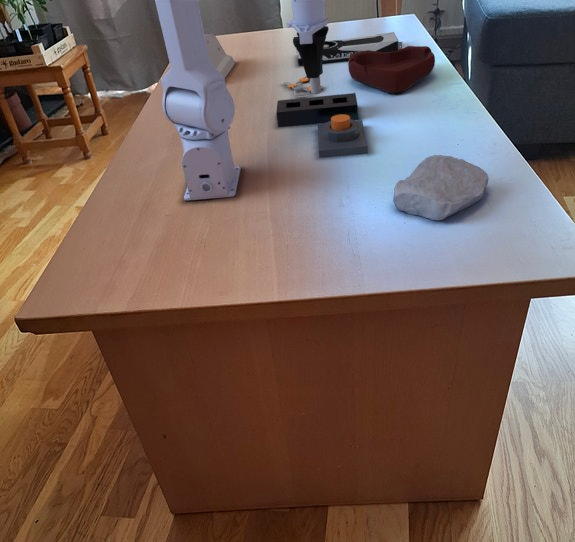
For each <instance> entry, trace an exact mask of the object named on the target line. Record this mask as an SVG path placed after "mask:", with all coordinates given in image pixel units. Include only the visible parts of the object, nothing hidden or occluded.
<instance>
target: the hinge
mask: <svg viewBox="0 0 575 542" xmlns="http://www.w3.org/2000/svg"><path fill="white" fill-rule="evenodd" d="M205 39H206V45H207V50H208V55H209V60H210V62H211V64H212V65H213V66H214V67H215V68H216V69H217V70H218V71H219V72H220V73H221V74H222V75H223V77H224V78H225V79H226V77H227V76H228V75H229V73H230V71H231V70H232V69H233V67H234V66H235V64H236V62H235V60H234V58H233V56H232V55H228V54H227V53H226V51H225V50H224V47H223V46H222V44H221V43H220V41H219V40H218V38H217V36H216V35H215V34H214V33H205Z"/></svg>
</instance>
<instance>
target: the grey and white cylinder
mask: <svg viewBox="0 0 575 542" xmlns="http://www.w3.org/2000/svg"><path fill="white" fill-rule="evenodd" d="M323 67H324V66H323V63H322V53H321V65H320V74H319V78H309V82H310V83H309V84H310V86H311V91H310V94H312V95H319V94H321V93H322V89H321V87H322V85H321V75H323V73H324V69H323Z"/></svg>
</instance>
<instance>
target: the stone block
mask: <svg viewBox="0 0 575 542" xmlns="http://www.w3.org/2000/svg"><path fill="white" fill-rule="evenodd" d="M488 184H489V175H488V173H487V172H486V171H485V170H484V169H482V167H480V166H479V165H475V164H473V163H470V162H468V161H466V160H465V159H463V158H457V157H454V156H452V155H442V154H435V155H430V156H427V157H425V158H424V159H423V160H422V161H421V162H420V163H418V165H417V166H416V167H415V168H414V170H413V171H412V172H411V174H410V175H408V177H406V178H404V179H402V180H401V179H400V180H399V181H397V182H396V184H395V186H394V188H393V192H394V193H393V198H392V202H393V204H394V207H395V208H396V210H397V211H399V212H406V213H407V214H408V215H413V216H419V217H423V218H426V219H429V220H432V221H442V220H445V219H447V218H448V217H451V216H452V215H455V214H456V213H458V212H460V211H463V210H464V209H467V208H469V207H470V206H472V205H473V204H475V203H477V202H480V201H481V200H482V198H483V197H484V194H485V193H484V192H485V190H486V188H487V187H488Z"/></svg>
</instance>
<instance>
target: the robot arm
mask: <svg viewBox="0 0 575 542" xmlns="http://www.w3.org/2000/svg"><path fill="white" fill-rule="evenodd" d="M290 2H291V11H292V19H291V20H288V21H287V22H286V27H287V28H288V29H289V28H293V29H294V31H296V36H293V38H292V43H293V46H294V48H295V49H297V51H298V52H299V55H300V57H301V59H302V63H303V65H302V66H303V69H304V72H305V75H306V76H307V78H309V79H310V78H319V74H320V65H321V53H322V58H323V48H324V42H325V41H327V40H326V39H327V35H328V32H329V29H330V28H329V26H328V24H329V18H328V17H327V6H326V5H327V4H326V0H291V1H290ZM154 3H155V6H156V11H157V14H158V15H157V16H158V20H159V24H160V27H161V32H162V35H163V40H164V45H165V49H166V53H167V57H168V62H169V65H170V66H169V67H170V68H169V69H168V71H167V72H166V73H165V74H164V75H163V76H162V77H161V78H160V79H161V80H160V82H161V86H162V100H161V105H162V112H163V114H164V117H165V119H167V121H168V122H170V123H171V124H173V125H174V128H175V131H176V132H178V134H179V138H180V144H181V146H182V151H183V153H182V158H181V168H182V171H183V175H184V179H185V183H186V189H185V193H184V195H183V200H184V201H197V200H198V201H199V200H209V199H210V200H211V199H221V198H233V197H235V196H236V195H237V188H238V184H239V180H240V175H241V171H242V170H241V166H239V165H237V166H235V164H234V157H233V153H232V147H231V143H230V137H229V130H230V129H231V125H232V123H233V120H234V117H235V108H236V107H235V102H234V98H233V96H232V94H231V93H230V92H229V90H228V88H227V84H226V77H225V78H224V77H223V75H222V74H221V73H220V72H219V71H218V70H217V69H216V68H215V67H214V66H213V65H212V64H211V62H210V60H209V55H208V50H207V45H206V39H205V35H206V33H205V29H204V25H203V20H202V19H203V18H202V13H201V9H200V4H199V3H200V2H199V0H154ZM306 76H305V77H306Z"/></svg>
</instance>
